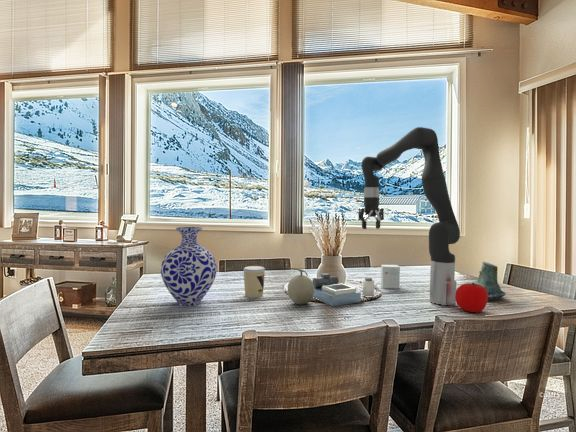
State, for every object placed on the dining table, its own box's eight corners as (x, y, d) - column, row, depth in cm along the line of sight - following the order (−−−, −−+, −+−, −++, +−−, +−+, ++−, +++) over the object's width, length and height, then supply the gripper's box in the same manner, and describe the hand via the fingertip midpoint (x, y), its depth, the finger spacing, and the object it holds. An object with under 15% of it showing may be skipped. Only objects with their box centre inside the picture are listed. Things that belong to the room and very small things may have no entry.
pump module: (376, 297, 164) (376, 278, 163) (367, 298, 162) (367, 279, 161) (368, 294, 168) (369, 276, 168) (360, 295, 166) (360, 277, 165)
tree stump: (454, 290, 181) (466, 254, 178) (501, 306, 171) (513, 269, 169) (449, 296, 165) (462, 257, 163) (500, 315, 155) (514, 273, 153)
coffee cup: (261, 298, 159) (261, 270, 158) (240, 297, 161) (240, 269, 160) (267, 293, 168) (267, 266, 167) (247, 291, 170) (247, 265, 169)
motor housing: (360, 302, 155) (361, 279, 155) (332, 306, 149) (332, 282, 148) (335, 292, 171) (335, 271, 171) (308, 295, 165) (308, 274, 164)
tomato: (469, 316, 138) (470, 286, 137) (447, 307, 149) (448, 279, 148) (495, 314, 141) (497, 284, 141) (472, 305, 152) (473, 278, 152)
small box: (397, 286, 185) (398, 264, 184) (399, 288, 179) (400, 266, 179) (380, 285, 186) (381, 264, 185) (382, 288, 180) (382, 266, 180)
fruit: (318, 302, 155) (319, 265, 154) (305, 309, 145) (306, 270, 144) (296, 298, 160) (297, 263, 159) (282, 304, 150) (282, 267, 149)
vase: (159, 312, 138) (159, 230, 137) (162, 297, 159) (162, 226, 157) (218, 308, 144) (219, 229, 142) (214, 294, 164) (214, 225, 163)
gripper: (365, 196, 184) (364, 229, 185) (387, 196, 191) (387, 228, 191) (355, 196, 191) (355, 228, 191) (377, 196, 197) (377, 228, 198)
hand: (371, 228), depth 191 cm, fingers open, 8 cm apart
